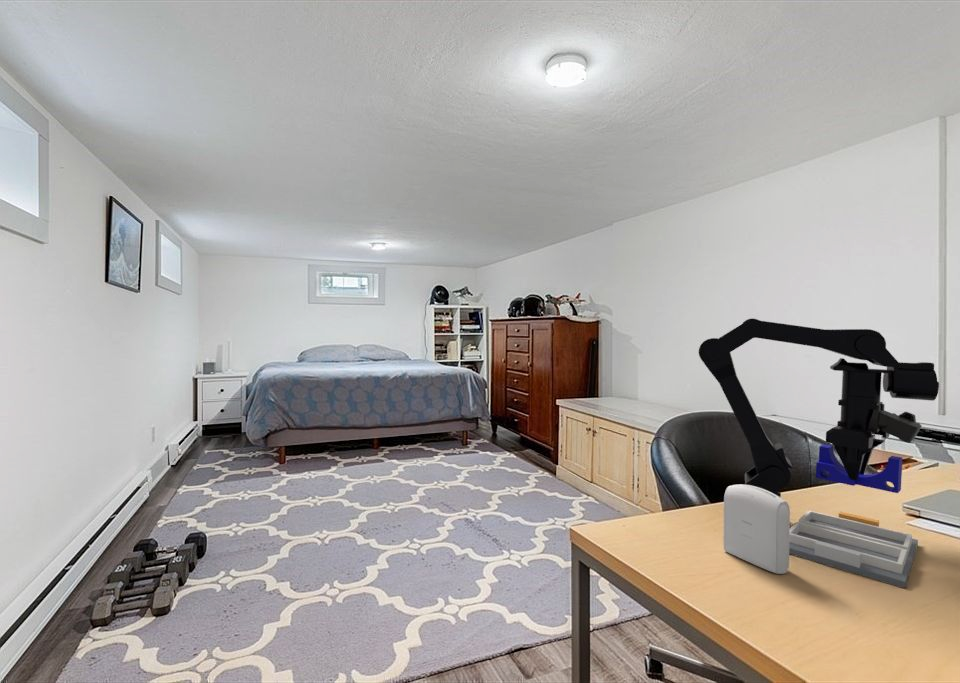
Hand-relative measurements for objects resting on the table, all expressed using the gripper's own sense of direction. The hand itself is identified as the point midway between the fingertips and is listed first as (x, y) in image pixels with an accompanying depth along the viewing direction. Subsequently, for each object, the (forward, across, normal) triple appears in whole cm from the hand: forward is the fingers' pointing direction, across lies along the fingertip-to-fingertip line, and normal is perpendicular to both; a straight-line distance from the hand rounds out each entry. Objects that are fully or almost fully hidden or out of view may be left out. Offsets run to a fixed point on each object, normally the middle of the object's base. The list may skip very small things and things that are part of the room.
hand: (856, 477), depth 90 cm
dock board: (+11, -7, -1) cm, 13 cm away
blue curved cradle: (+1, 0, 0) cm, 1 cm away
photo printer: (+12, -26, +8) cm, 30 cm away
